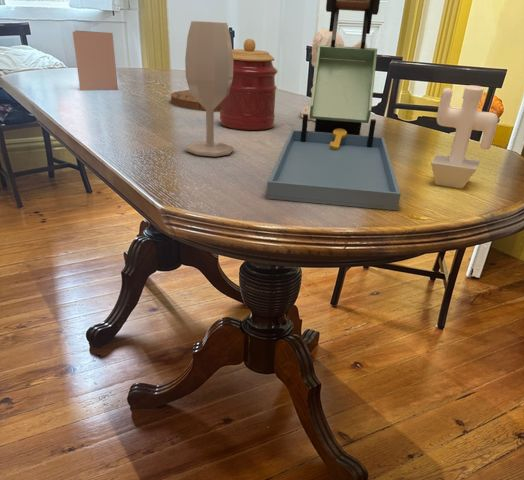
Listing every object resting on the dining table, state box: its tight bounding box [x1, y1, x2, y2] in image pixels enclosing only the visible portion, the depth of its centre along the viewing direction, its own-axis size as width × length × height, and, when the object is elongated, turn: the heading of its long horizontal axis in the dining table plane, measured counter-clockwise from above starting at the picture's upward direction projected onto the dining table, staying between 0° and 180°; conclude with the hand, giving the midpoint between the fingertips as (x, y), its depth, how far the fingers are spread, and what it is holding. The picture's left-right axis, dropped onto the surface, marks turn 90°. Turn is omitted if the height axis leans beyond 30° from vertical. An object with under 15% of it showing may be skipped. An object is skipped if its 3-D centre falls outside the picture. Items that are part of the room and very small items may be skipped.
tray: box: [266, 129, 402, 211], centre depth 91 cm, size 40×19×2 cm, turn 172°
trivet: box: [170, 89, 221, 112], centre depth 145 cm, size 25×25×2 cm
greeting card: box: [72, 29, 119, 91], centre depth 153 cm, size 11×7×15 cm, turn 84°
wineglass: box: [184, 20, 234, 158], centre depth 92 cm, size 9×9×21 cm
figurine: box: [430, 84, 499, 190], centre depth 84 cm, size 7×9×15 cm
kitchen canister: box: [219, 38, 278, 131], centre depth 117 cm, size 13×13×18 cm
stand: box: [301, 114, 377, 148], centre depth 111 cm, size 14×15×6 cm
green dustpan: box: [310, 0, 378, 124], centre depth 104 cm, size 24×12×6 cm
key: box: [329, 128, 347, 150], centre depth 104 cm, size 7×3×1 cm, turn 166°
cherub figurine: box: [300, 27, 368, 122], centre depth 130 cm, size 13×12×20 cm
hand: (349, 32), depth 107 cm, fingers closed on green dustpan, 7 cm apart
